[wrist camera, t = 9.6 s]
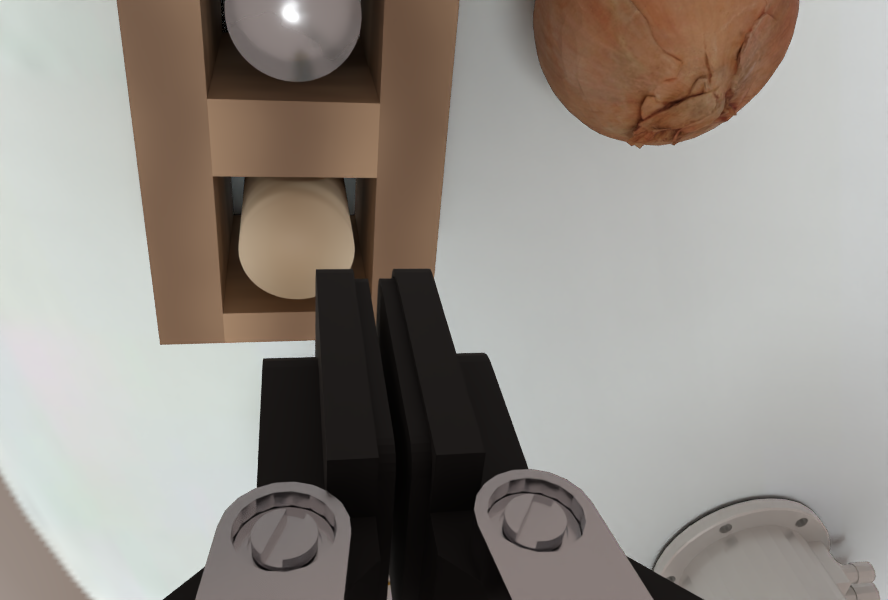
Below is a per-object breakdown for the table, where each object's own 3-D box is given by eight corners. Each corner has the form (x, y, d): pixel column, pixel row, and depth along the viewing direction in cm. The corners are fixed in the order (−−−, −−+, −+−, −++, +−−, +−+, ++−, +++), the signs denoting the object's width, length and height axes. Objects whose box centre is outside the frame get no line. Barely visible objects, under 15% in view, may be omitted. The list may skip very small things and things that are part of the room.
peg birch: (342, 122, 34) (356, 199, 27) (340, 208, 36) (353, 298, 29) (244, 119, 33) (235, 198, 27) (248, 208, 35) (241, 300, 29)
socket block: (427, -145, 29) (470, -124, 23) (402, 240, 38) (428, 336, 31) (141, -170, 28) (96, -154, 21) (182, 241, 36) (160, 344, 29)
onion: (610, 56, 38) (677, 228, 33) (460, -31, 32) (514, 160, 27) (786, -103, 32) (901, 76, 27) (641, -246, 26) (752, -51, 21)
